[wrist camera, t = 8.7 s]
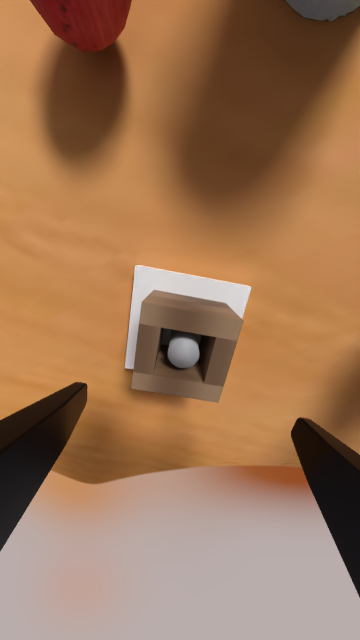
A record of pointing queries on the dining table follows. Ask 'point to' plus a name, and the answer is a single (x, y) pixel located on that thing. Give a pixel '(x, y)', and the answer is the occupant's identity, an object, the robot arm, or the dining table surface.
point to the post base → (148, 279)
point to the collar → (187, 316)
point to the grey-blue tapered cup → (323, 8)
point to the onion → (85, 21)
